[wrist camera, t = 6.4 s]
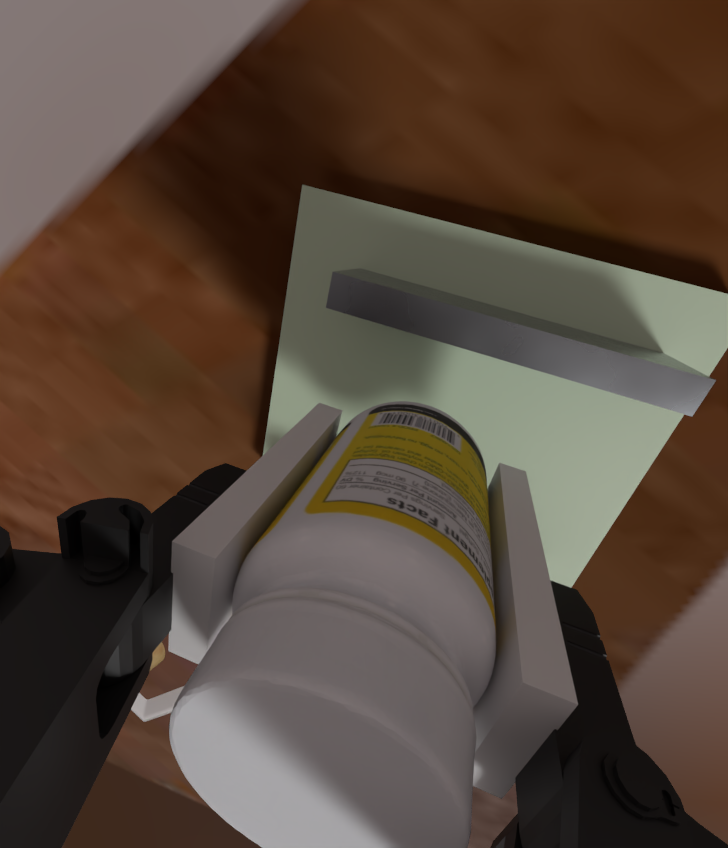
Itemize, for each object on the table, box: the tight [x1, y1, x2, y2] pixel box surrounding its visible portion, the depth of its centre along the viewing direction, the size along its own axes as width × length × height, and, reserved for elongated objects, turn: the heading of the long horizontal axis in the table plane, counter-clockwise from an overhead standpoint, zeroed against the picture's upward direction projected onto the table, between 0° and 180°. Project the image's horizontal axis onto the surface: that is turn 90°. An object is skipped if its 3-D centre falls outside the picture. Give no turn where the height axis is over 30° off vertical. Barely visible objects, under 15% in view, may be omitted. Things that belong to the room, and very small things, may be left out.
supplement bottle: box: [169, 401, 496, 848], centre depth 9 cm, size 5×5×8 cm
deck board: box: [263, 185, 728, 588], centre depth 15 cm, size 14×12×1 cm
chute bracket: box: [326, 268, 716, 416], centre depth 14 cm, size 10×10×3 cm
